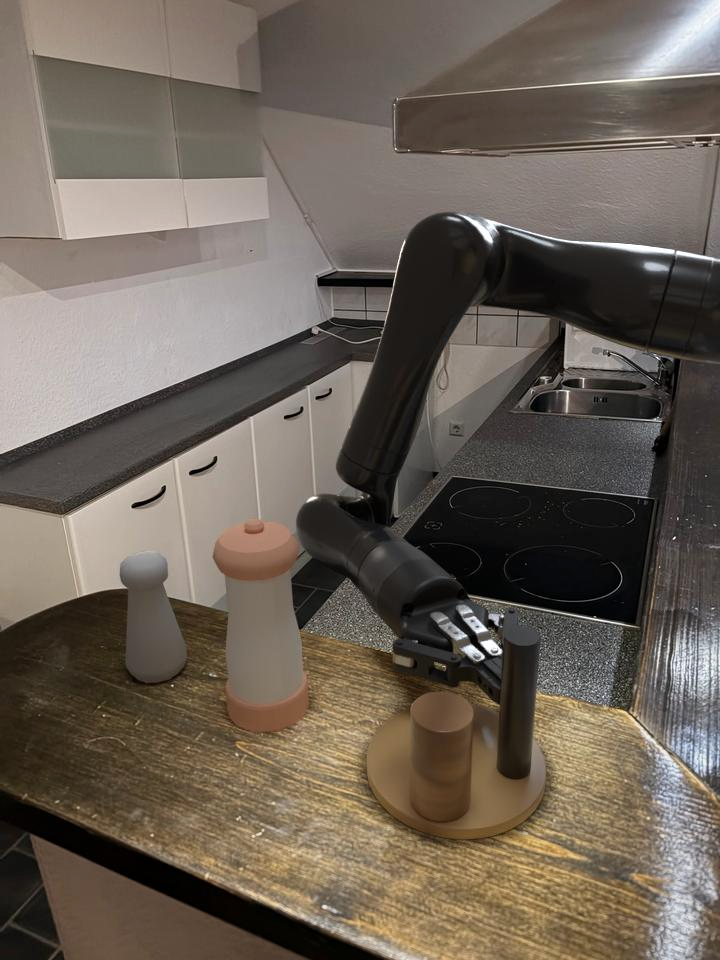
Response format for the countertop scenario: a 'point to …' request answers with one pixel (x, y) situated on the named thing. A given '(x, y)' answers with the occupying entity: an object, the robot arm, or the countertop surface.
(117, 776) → the countertop surface
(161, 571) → the salt shaker
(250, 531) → the pepper shaker
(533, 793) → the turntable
